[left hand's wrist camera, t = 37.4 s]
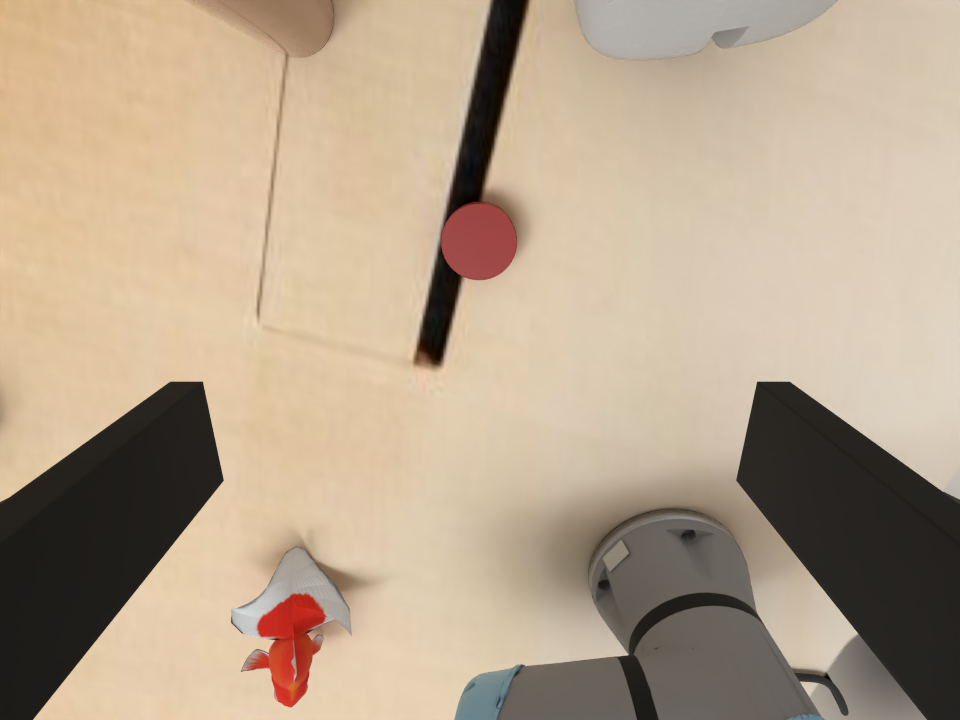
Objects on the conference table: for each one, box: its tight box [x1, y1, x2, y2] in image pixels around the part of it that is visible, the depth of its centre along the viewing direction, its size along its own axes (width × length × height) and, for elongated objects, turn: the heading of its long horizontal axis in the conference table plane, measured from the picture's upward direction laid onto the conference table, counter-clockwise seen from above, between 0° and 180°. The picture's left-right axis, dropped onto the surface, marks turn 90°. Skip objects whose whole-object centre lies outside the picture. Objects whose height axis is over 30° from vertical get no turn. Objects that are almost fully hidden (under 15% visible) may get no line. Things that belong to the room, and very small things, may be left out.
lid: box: [441, 202, 517, 280], centre depth 40 cm, size 6×6×2 cm
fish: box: [231, 546, 352, 707], centre depth 50 cm, size 11×16×10 cm
